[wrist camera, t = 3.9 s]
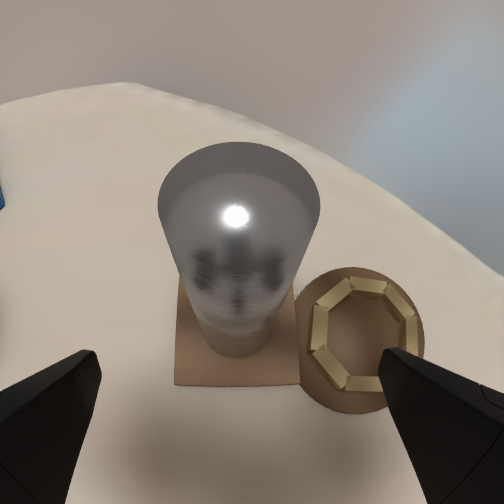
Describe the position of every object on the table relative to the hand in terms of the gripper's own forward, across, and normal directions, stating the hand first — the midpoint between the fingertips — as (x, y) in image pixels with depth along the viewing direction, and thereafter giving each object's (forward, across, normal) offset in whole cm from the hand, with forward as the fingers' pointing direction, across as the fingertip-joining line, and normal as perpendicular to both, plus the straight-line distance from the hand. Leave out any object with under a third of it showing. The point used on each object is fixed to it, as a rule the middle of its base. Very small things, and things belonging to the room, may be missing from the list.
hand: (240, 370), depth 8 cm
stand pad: (+11, 0, +5) cm, 12 cm away
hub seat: (+10, -9, +6) cm, 14 cm away
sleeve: (+10, 0, +4) cm, 11 cm away
